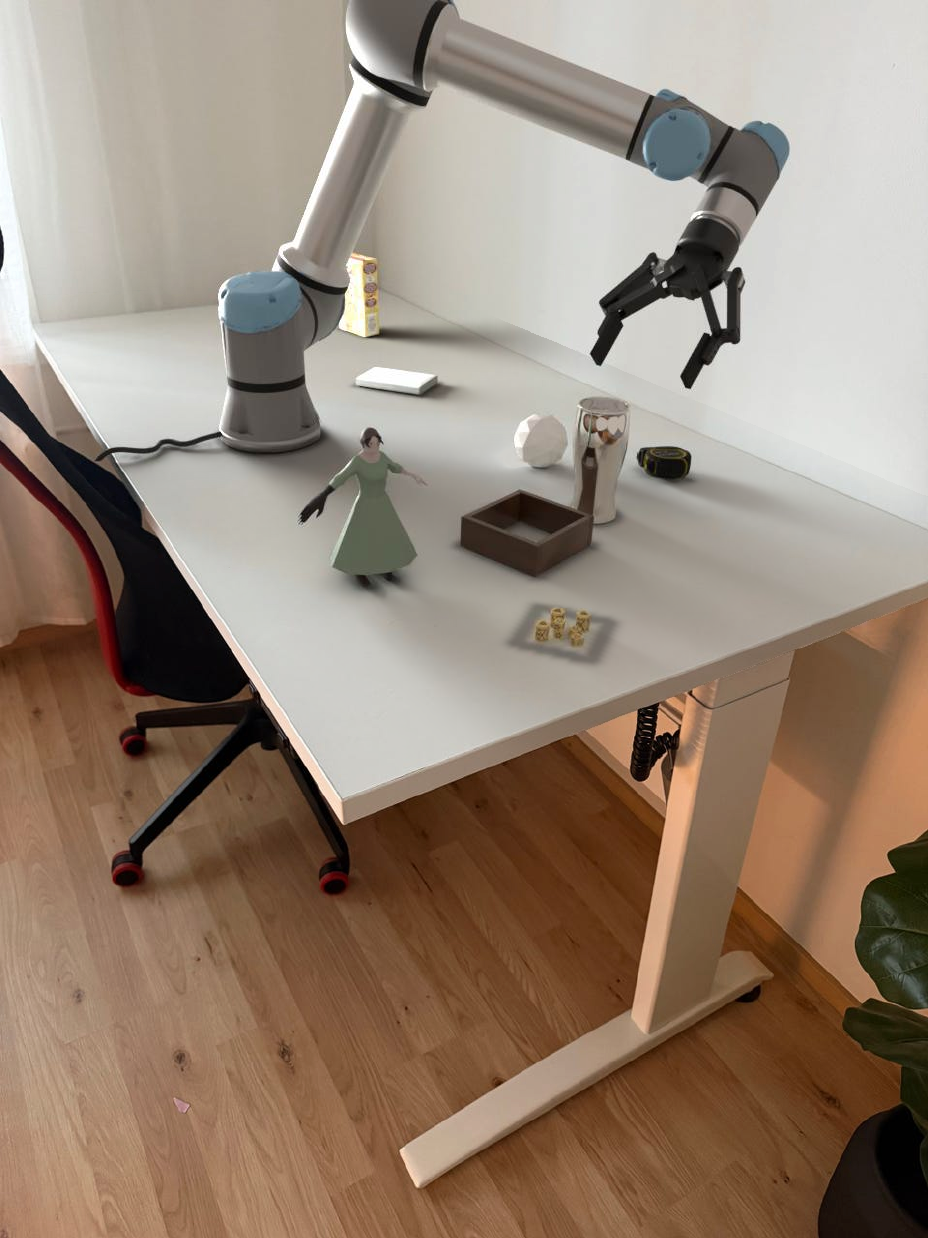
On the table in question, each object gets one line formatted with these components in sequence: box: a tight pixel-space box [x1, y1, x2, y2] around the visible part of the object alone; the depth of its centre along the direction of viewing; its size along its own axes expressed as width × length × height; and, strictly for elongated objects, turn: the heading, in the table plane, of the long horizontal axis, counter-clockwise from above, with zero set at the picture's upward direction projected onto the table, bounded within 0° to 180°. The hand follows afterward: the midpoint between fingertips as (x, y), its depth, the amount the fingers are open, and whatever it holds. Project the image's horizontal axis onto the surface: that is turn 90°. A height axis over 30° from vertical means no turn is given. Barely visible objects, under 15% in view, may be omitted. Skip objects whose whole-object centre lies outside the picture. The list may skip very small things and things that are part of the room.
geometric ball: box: [514, 413, 569, 468], centre depth 138 cm, size 8×8×8 cm
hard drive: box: [355, 366, 439, 396], centre depth 171 cm, size 2×8×12 cm
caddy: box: [459, 488, 594, 578], centre depth 116 cm, size 12×12×4 cm
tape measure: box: [636, 445, 692, 481], centre depth 137 cm, size 7×7×4 cm
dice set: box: [534, 606, 591, 648], centre depth 100 cm, size 5×5×2 cm
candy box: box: [339, 252, 380, 338], centre depth 197 cm, size 9×4×15 cm, turn 44°
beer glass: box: [570, 396, 631, 525], centre depth 122 cm, size 7×7×15 cm
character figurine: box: [297, 426, 428, 587], centre depth 104 cm, size 16×8×18 cm, turn 121°
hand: (638, 371), depth 122 cm, fingers open, 13 cm apart
